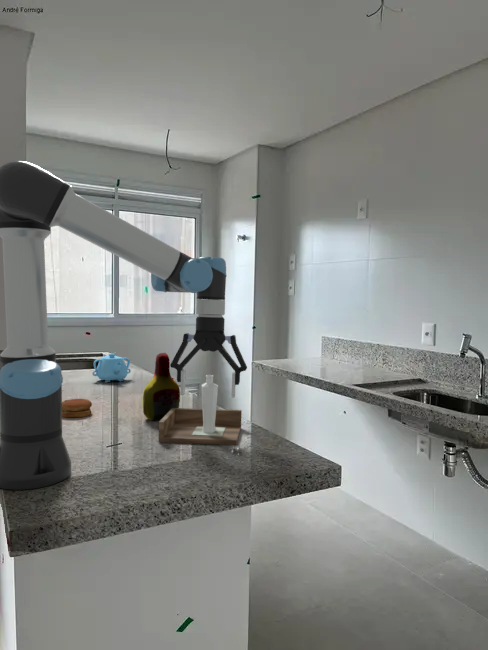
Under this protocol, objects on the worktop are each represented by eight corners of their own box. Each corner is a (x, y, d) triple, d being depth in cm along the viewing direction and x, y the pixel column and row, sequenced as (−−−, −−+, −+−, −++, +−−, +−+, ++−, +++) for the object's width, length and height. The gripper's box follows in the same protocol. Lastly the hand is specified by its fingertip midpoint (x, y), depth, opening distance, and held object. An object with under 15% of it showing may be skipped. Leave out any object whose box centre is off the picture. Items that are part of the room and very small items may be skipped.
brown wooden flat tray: (236, 445, 125) (236, 424, 124) (158, 442, 126) (158, 422, 126) (241, 428, 140) (241, 410, 140) (172, 425, 142) (172, 407, 142)
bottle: (176, 414, 156) (176, 351, 155) (183, 418, 150) (184, 353, 149) (139, 418, 150) (139, 352, 149) (145, 423, 144) (146, 355, 143)
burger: (92, 417, 150) (92, 402, 150) (59, 419, 148) (59, 404, 147) (91, 410, 160) (91, 396, 160) (61, 412, 157) (60, 397, 157)
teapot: (86, 379, 216) (86, 352, 216) (123, 376, 225) (123, 350, 225) (99, 386, 200) (99, 357, 199) (139, 383, 208) (139, 355, 208)
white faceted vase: (219, 432, 130) (220, 376, 129) (202, 433, 129) (203, 377, 128) (215, 428, 135) (216, 373, 134) (199, 428, 134) (200, 374, 133)
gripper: (258, 317, 133) (255, 395, 134) (167, 313, 135) (165, 390, 136) (256, 318, 126) (253, 400, 127) (160, 314, 127) (158, 396, 128)
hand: (207, 395), depth 131 cm, fingers open, 13 cm apart
